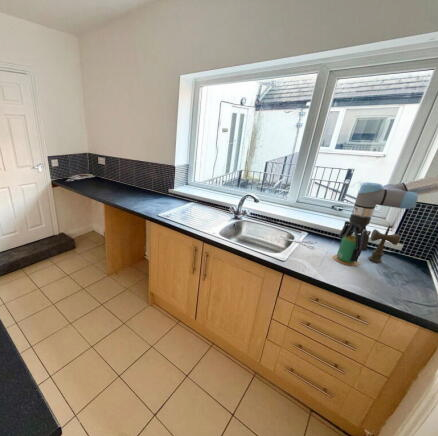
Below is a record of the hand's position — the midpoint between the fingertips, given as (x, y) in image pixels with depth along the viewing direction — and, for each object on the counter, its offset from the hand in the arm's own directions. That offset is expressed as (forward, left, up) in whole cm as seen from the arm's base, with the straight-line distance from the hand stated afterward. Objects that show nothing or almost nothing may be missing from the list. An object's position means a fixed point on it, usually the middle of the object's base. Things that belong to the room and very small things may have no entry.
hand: (347, 256), depth 124 cm
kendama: (-15, -1, -3) cm, 15 cm away
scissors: (+15, -19, -2) cm, 24 cm away
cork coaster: (0, 0, -2) cm, 2 cm away
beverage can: (0, 0, -2) cm, 2 cm away
